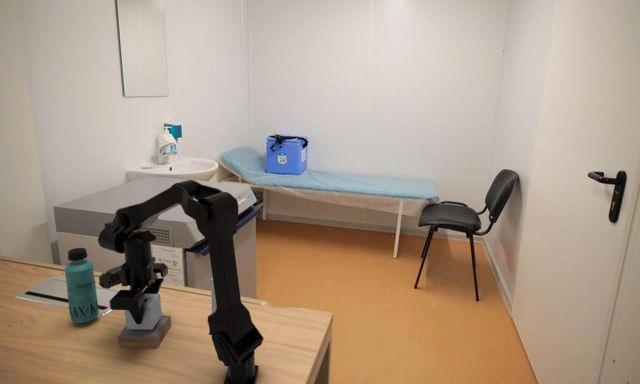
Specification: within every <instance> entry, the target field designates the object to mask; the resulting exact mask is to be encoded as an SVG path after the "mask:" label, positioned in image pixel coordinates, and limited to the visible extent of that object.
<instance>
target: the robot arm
mask: <svg viewBox="0 0 640 384" xmlns="http://www.w3.org/2000/svg"><path fill="white" fill-rule="evenodd" d="M178 206H181V209H182V211H183V213H184V214H185V215H186V216H188V217H190V219H193V220H194V221H195V224H196V228H197V230H198V232H199V233H200V234H201V235H202V236H203V237H204V238H205V240H206V242H207V246H208V253H209V260H210V267H211V268H210V269H211V275H212V278H213V284H214V291H215V298H216V305H217V308H216V311H215V312H214V313H212V312H211V313H210V314H209V315H208V316H207V324H208V327H209V328H208V329H209V331H208V335H209V336H211V341H212V343H213V346H214V350H215V353H216V355H217V359H218V360H219V361H220V362H222V363H223V366H224V367H227V371H226V374H225V378H224V380H223V384H256V382H257V377H258V374H259V365H258V364H256V362H255V361H256V358H255V357H256V356H255V351H256V350H257V349H258V348H259V347H260V346H262V345H263V343H264V336H263V335H262V334H261V332H260V331H259V329H258V328H257V327H256V325H255V323H254V322H253V320H252V316H251V313H250V310H249V309H248V308H247V307H246V306H245V305H244V304H243V302H242V299H241V291H240V290H241V289H240V284H239V283H240V282H239V275H238V267H237V260H236V252H235V245H234V244H235V243H234V234H235V232H236V228H237V226H238V224H239V202H238V200H237V198H236V197H235V196H233V195H232V194H231V193H230V192H227V191H223V190H221V189H219V188H217V187H212V186H210V185H209V186H208V185H206V184H202V183H200V182H198V181H196V180H193V179H187V180H182V181H180V182H176V183H174V184H173V185H171V186H170V187H168V188H167V189H165V190H163V191H161V192H159V193H158V194H155V195H154V196H152V197H151V198H148V199H146V200H145V201H143V202H140V203H136V204H132V205H128V206H125V207H122V208H121V207H120V208H118V209H117V210H116V211H115V215H114V216H115V217H114V218H113V219H112V221H108V222H105V223H104V228H103V229H102V230H101V231H100V233H99V235H98V238H97V242H98V245H99V246H100V247H101V248H102V249H104V250H108V251H111V252H114V253H116V254H117V253H118V254H124V262H123V264H121V265H118V266H115V267H112V268H109V269H108V270H106V271H105V272H103V273H101V274H100V275H99V278H98V282H99V283H98V285H99V286H100V287H101V288H102V289H106V290H109V289H111V288H112V287H116V286H119V285H121V287H128V286H129V289H120V290H118V292H117V293H115V295H113V296H112V298H111V299H110V300H109V309H110V310H111V311H125V310H128V311H129V312H130V314H131V316H132V317H133V319H134V321H135V323H136V324H141V323H142V320H143V317H144V313H145V309H146V306H147V302H148V299H145V294H159V292H160V290H161V287H162V285H163V283H164V281H165V279H164V278H165V277H166V276H167V275H168V273H169V270H168V265H166V264H165V263H164V262H156V257H155V256H153V253H152V243H151V242H155V241H157V236H156V235H155V234H154V233H152V232H151V231H150V230H149V229H148V230H144V231H141V229H144V228H147V227H151V226H152V225H153V224H154V223H155V222H156V221H157V220H158V219H159V217H160V215H162V214H164V213H166V212H169V211H170V210H172V209H174V208H176V207H178ZM158 274H160V277H159V276H158Z"/></svg>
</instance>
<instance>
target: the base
mask: <svg viewBox="0 0 640 384" xmlns="http://www.w3.org/2000/svg"><path fill="white" fill-rule="evenodd" d="M171 326H172V323H171V315H162V316H161V318H160V319H159V320H158V322H157V323H156V325H155V326H154V328H153V329H127V326H126V325H125V326H124V327H123V329H122V330H121V331H120V333H119V334H118V335H117V341H118V348H132V349H133V348H141V349H143V348H144V349H158V348H159V346H160V344H161V343H162V341H163V340H164V338H165V337H166V335H167V333H168V331H169V330H170V328H171Z"/></svg>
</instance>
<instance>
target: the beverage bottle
mask: <svg viewBox="0 0 640 384" xmlns="http://www.w3.org/2000/svg"><path fill="white" fill-rule="evenodd" d="M67 254H68V255H67V260H68V261H70V262H69V263H68V264H67V265H66V266H65V267H64V275H65V282H66V288H67V289H66V292H67V300H68V303H67V304H68V310H69V316H70V320H71V321H72V322H74V323H77V324H79V323H80V324H82V323H86V322H89V321H92V320H93V319H95V318H96V317H98V315H99V313H100V312H99V308H100V307H99V301H98V295H97V287H96V283H97V281H96V280H95V272H94V271H95V270H94V263H93V262H91V261H90V260H88V259H86V258H88V252H87V249H86V248H84V247H75V248H72V249H70V250H68V251H67Z"/></svg>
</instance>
